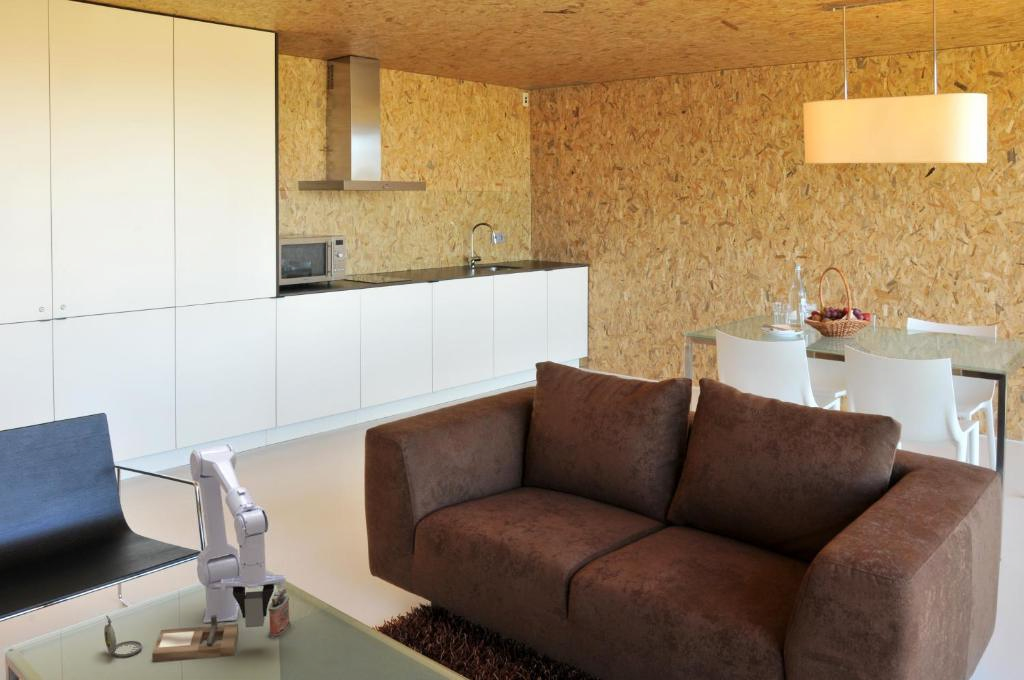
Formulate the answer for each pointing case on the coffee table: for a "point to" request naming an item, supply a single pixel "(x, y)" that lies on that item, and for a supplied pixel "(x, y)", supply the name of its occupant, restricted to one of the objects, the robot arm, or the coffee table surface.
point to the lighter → (279, 614)
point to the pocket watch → (112, 646)
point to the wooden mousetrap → (196, 642)
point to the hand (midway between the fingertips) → (254, 615)
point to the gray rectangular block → (254, 609)
